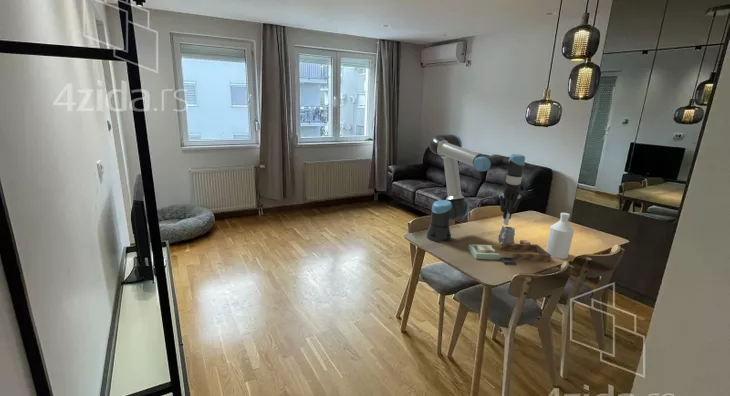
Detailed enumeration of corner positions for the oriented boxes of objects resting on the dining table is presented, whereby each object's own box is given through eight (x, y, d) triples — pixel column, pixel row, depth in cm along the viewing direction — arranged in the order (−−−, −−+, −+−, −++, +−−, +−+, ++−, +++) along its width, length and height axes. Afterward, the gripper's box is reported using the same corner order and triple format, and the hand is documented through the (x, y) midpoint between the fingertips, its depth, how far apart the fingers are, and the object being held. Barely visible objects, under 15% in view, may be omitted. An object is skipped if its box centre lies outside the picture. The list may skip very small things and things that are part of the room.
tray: (504, 264, 187) (504, 261, 186) (500, 259, 192) (500, 256, 192) (515, 264, 187) (515, 262, 187) (510, 259, 193) (511, 257, 192)
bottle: (573, 257, 198) (582, 216, 192) (556, 259, 195) (565, 217, 188) (556, 249, 209) (565, 210, 203) (540, 251, 206) (548, 211, 199)
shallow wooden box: (511, 259, 192) (512, 254, 191) (500, 248, 207) (501, 243, 206) (549, 261, 193) (550, 255, 192) (536, 249, 207) (537, 244, 206)
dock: (475, 258, 192) (476, 253, 191) (468, 249, 204) (468, 244, 203) (499, 259, 192) (500, 254, 191) (490, 249, 204) (491, 245, 204)
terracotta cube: (523, 249, 208) (524, 242, 207) (519, 246, 212) (520, 240, 211) (529, 248, 209) (530, 242, 208) (524, 245, 213) (525, 239, 212)
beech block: (480, 256, 195) (481, 250, 194) (476, 252, 201) (477, 245, 200) (494, 257, 196) (495, 250, 194) (489, 252, 201) (490, 246, 200)
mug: (516, 244, 214) (519, 226, 211) (502, 247, 209) (505, 228, 206) (506, 239, 221) (509, 222, 218) (493, 242, 216) (495, 224, 212)
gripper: (521, 182, 191) (514, 222, 197) (498, 181, 190) (491, 221, 197) (528, 185, 184) (520, 227, 190) (503, 184, 183) (496, 226, 190)
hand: (505, 224), depth 194 cm, fingers closed
